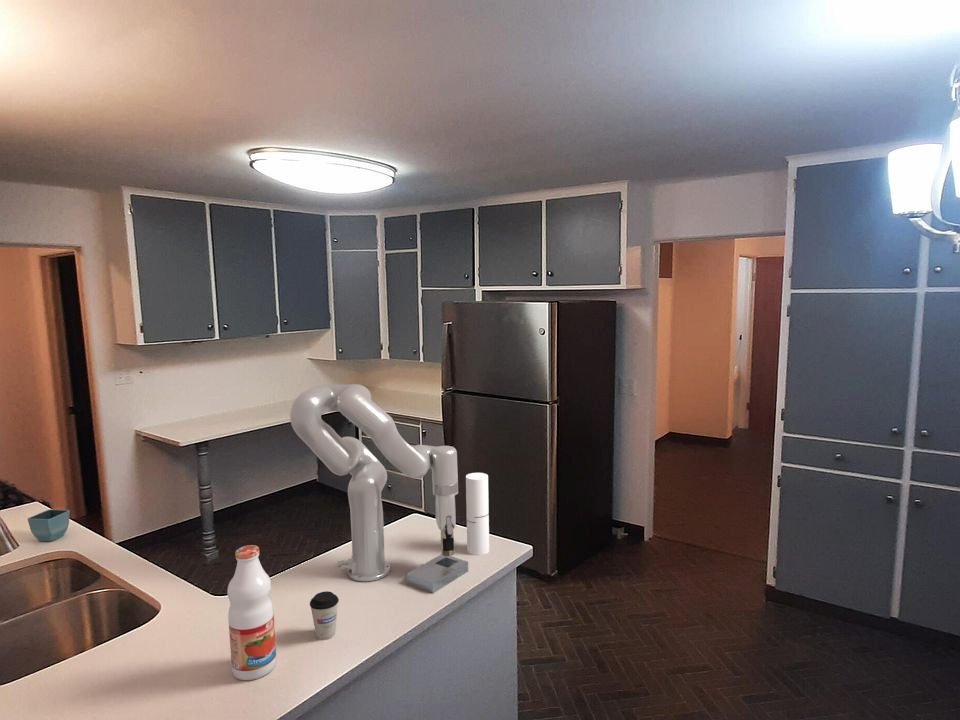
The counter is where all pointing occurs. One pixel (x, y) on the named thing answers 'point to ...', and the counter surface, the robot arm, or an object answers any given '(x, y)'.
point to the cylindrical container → (477, 513)
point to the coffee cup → (324, 614)
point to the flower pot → (49, 524)
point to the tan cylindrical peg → (444, 553)
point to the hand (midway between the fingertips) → (447, 546)
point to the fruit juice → (251, 617)
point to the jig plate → (437, 573)
